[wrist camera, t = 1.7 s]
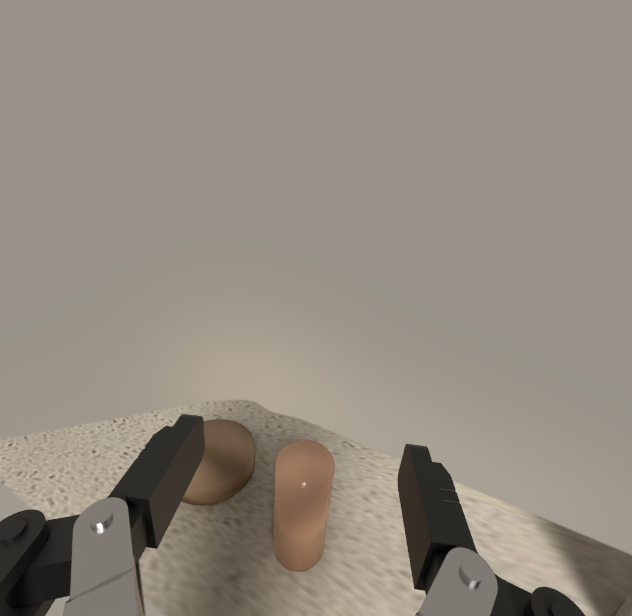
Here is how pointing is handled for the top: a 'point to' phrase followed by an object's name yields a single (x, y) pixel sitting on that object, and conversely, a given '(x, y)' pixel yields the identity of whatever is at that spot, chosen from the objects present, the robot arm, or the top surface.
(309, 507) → the tan rounded post
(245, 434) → the brown disc
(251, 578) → the top surface
